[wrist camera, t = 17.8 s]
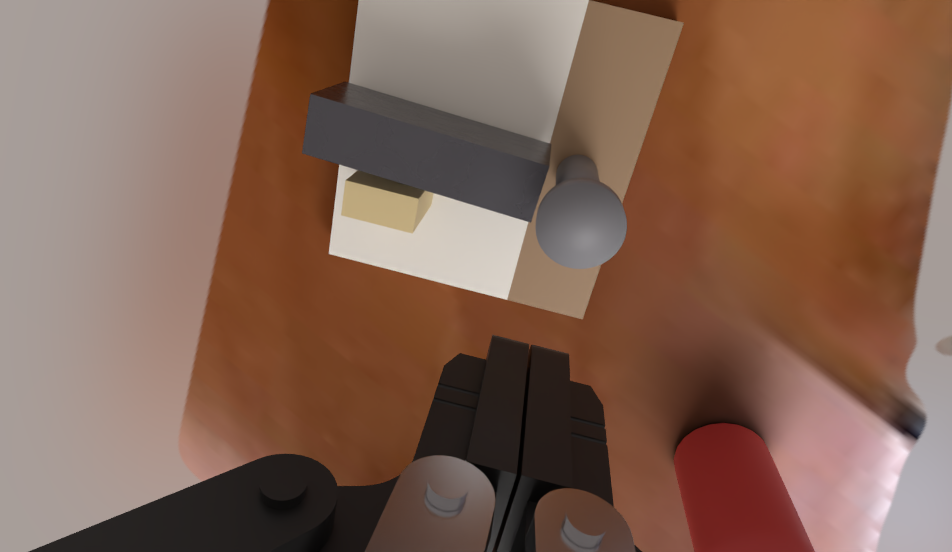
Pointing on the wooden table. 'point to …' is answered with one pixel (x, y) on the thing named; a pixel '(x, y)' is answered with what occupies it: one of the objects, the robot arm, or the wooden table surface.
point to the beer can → (735, 493)
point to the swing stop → (427, 149)
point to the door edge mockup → (516, 110)
